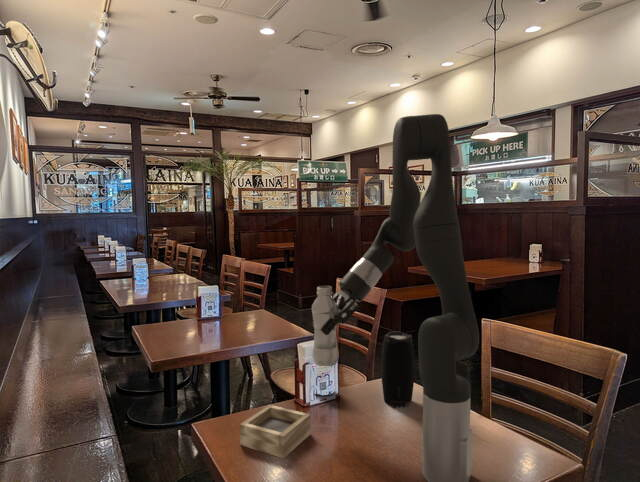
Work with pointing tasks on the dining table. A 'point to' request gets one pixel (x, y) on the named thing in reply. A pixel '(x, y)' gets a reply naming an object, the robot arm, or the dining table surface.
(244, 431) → the stand
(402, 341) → the portable speaker
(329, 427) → the dining table surface
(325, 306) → the plastic bottle
